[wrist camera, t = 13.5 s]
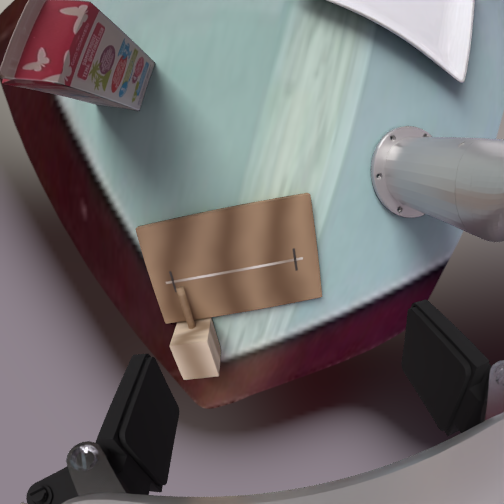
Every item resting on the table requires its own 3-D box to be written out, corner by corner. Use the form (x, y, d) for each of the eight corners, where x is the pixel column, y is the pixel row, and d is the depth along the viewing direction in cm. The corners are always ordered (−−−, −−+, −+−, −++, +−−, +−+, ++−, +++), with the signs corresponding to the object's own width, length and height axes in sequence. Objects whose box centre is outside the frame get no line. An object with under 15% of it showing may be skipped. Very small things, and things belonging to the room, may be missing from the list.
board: (307, 192, 36) (310, 194, 35) (319, 292, 41) (322, 297, 39) (138, 226, 37) (135, 228, 35) (167, 319, 41) (165, 323, 40)
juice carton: (95, 104, 31) (-26, 79, 10) (110, 58, 29) (6, -2, 8) (139, 110, 32) (29, 75, 11) (155, 62, 30) (68, -17, 9)
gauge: (200, 277, 39) (194, 299, 33) (221, 349, 43) (218, 376, 37) (165, 284, 39) (154, 305, 33) (189, 353, 43) (183, 379, 37)
